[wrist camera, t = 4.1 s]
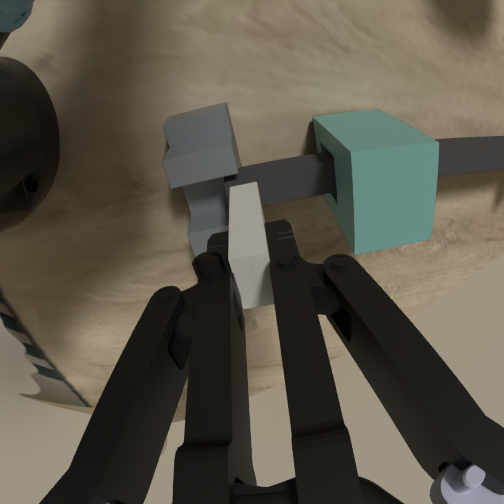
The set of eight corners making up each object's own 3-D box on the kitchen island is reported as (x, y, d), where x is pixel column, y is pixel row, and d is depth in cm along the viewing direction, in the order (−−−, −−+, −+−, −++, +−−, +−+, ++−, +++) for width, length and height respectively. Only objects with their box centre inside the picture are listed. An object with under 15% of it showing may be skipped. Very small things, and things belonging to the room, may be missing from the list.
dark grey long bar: (235, 204, 23) (235, 238, 19) (220, 148, 20) (217, 172, 17) (553, 160, 20) (580, 178, 17) (557, 122, 18) (586, 138, 14)
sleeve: (321, 192, 24) (354, 255, 17) (312, 116, 20) (350, 152, 14) (381, 182, 23) (430, 239, 17) (378, 109, 20) (439, 142, 13)
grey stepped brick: (206, 235, 26) (202, 274, 22) (170, 116, 20) (153, 135, 16) (255, 225, 26) (259, 264, 21) (226, 102, 20) (224, 116, 16)
